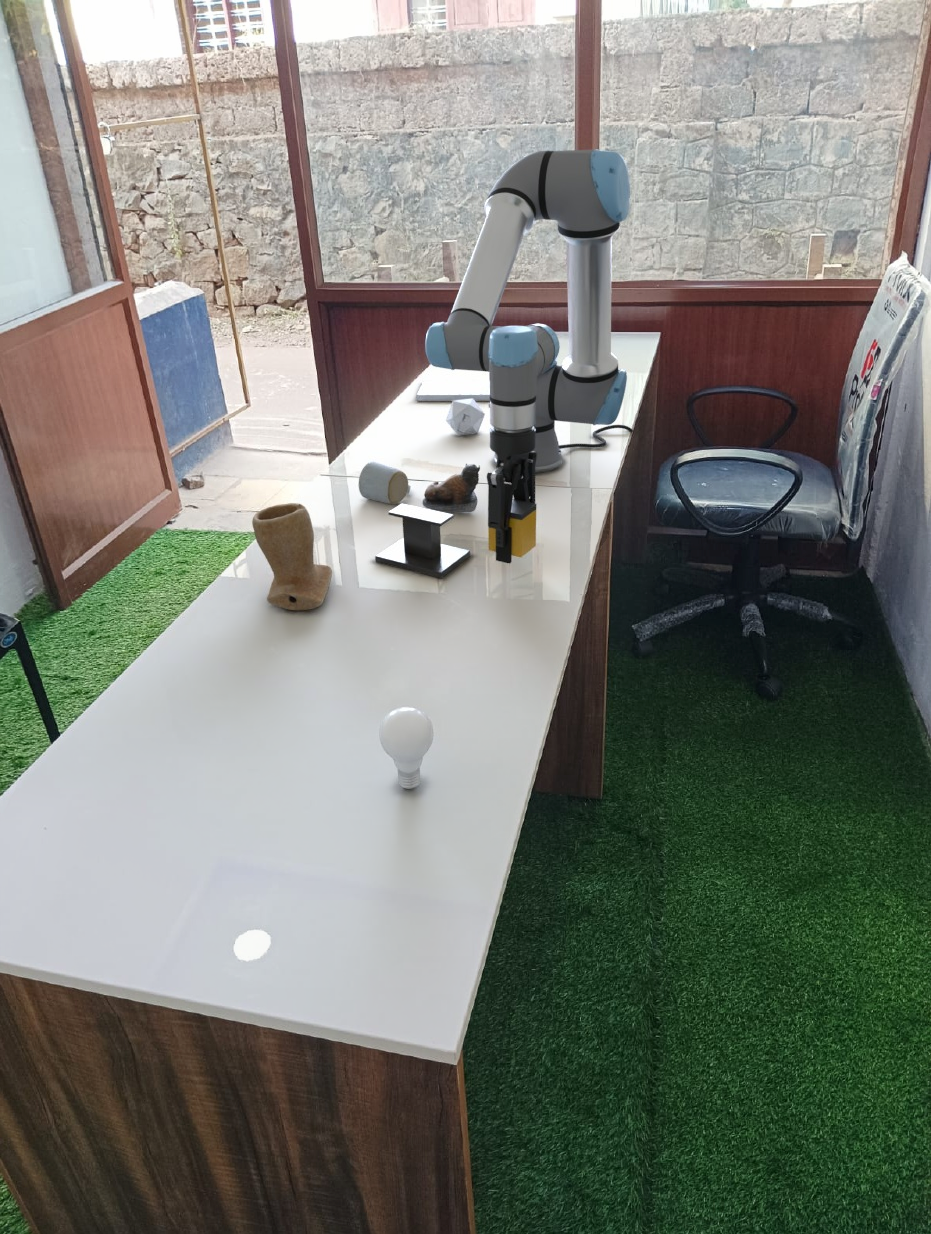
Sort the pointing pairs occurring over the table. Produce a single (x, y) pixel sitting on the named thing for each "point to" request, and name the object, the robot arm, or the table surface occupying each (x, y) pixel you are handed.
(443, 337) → the robot arm
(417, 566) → the stand
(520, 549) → the block
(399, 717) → the lightbulb
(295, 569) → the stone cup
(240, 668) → the table surface
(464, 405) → the die
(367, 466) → the ceramic mug
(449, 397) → the computer keyboard
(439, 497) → the brown animal-shaped figure
